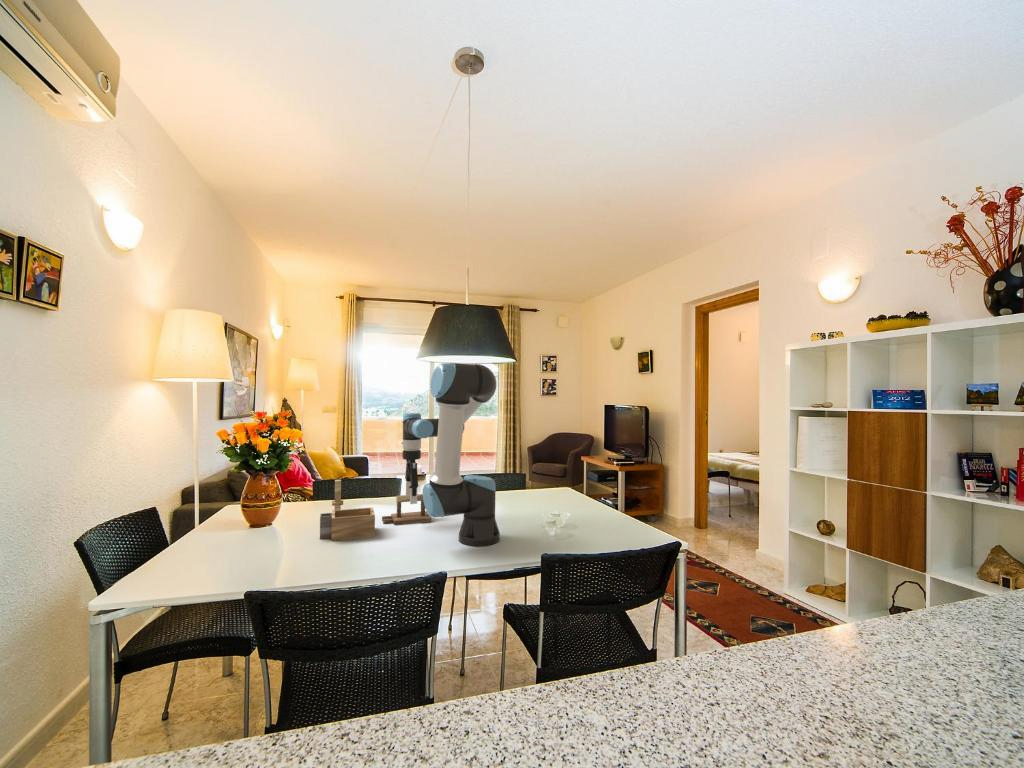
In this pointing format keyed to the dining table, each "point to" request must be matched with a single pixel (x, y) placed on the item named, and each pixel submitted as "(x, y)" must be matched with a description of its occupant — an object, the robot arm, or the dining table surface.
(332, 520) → the toolbox
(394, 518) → the lid
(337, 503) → the key peg
